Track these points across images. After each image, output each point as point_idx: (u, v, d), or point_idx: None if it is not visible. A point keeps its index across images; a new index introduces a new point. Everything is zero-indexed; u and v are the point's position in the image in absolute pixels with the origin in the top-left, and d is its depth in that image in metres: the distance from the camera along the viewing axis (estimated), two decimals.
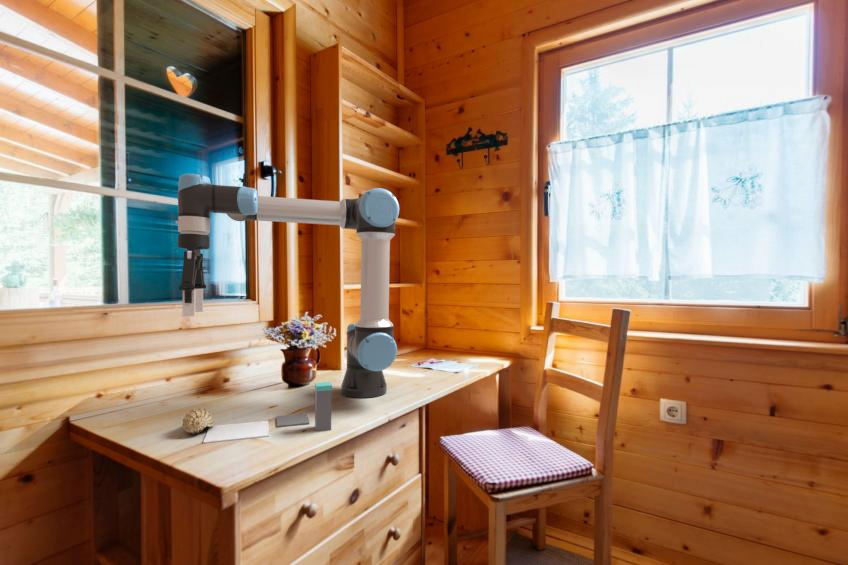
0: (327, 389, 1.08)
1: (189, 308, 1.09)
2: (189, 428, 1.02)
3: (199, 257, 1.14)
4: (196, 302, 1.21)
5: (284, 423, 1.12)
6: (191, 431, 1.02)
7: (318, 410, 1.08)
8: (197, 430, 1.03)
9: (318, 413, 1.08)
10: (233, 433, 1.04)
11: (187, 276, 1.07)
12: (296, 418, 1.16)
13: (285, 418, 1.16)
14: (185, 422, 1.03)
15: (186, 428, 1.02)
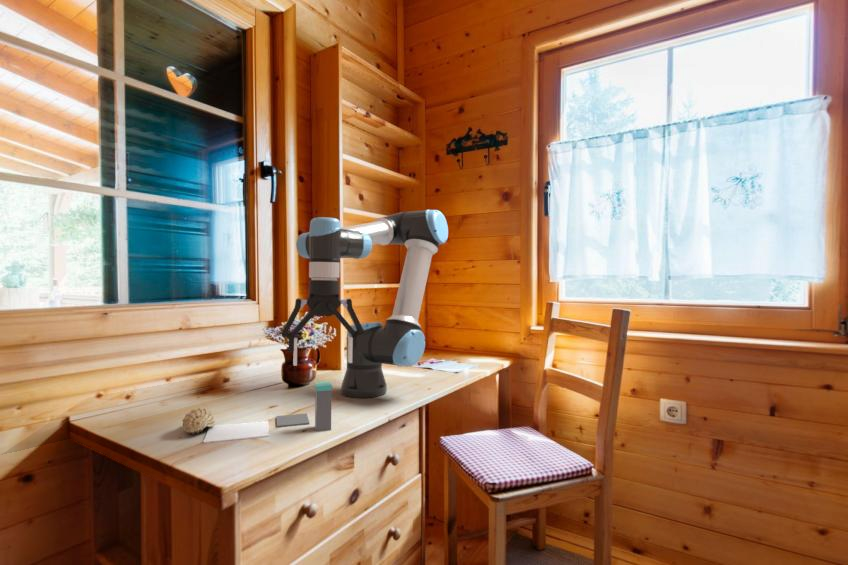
0: (327, 389, 1.08)
1: (293, 357, 1.07)
2: (189, 428, 1.02)
3: (316, 304, 1.07)
4: (348, 351, 1.12)
5: (284, 423, 1.12)
6: (191, 431, 1.02)
7: (318, 410, 1.08)
8: (197, 430, 1.03)
9: (318, 413, 1.08)
10: (233, 433, 1.04)
11: (285, 324, 1.06)
12: (296, 418, 1.16)
13: (285, 418, 1.16)
14: (185, 422, 1.03)
15: (186, 428, 1.02)
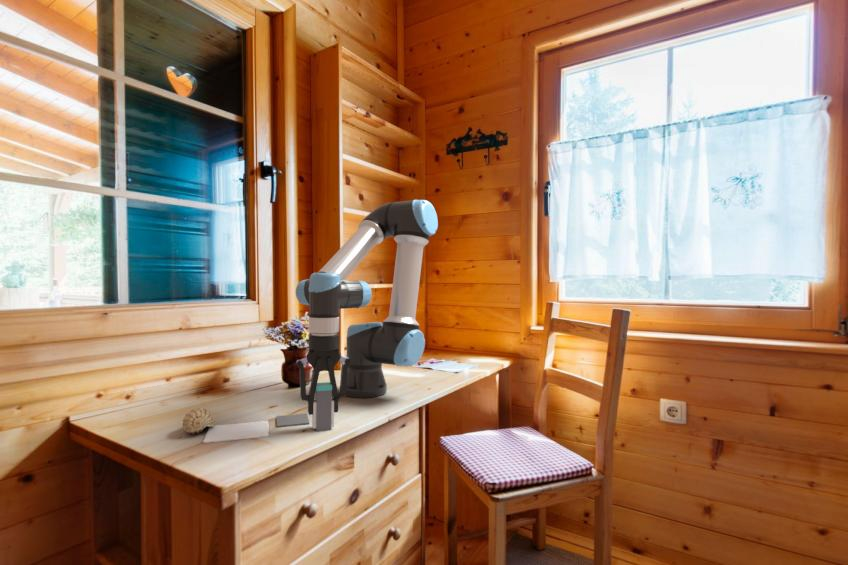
0: (327, 389, 1.08)
1: None
2: (189, 428, 1.02)
3: (316, 361, 1.07)
4: None
5: (284, 423, 1.12)
6: (191, 431, 1.02)
7: (318, 410, 1.08)
8: (197, 430, 1.03)
9: (318, 413, 1.08)
10: (233, 433, 1.04)
11: (300, 388, 1.08)
12: (296, 418, 1.16)
13: (285, 418, 1.16)
14: (185, 422, 1.03)
15: (186, 428, 1.02)
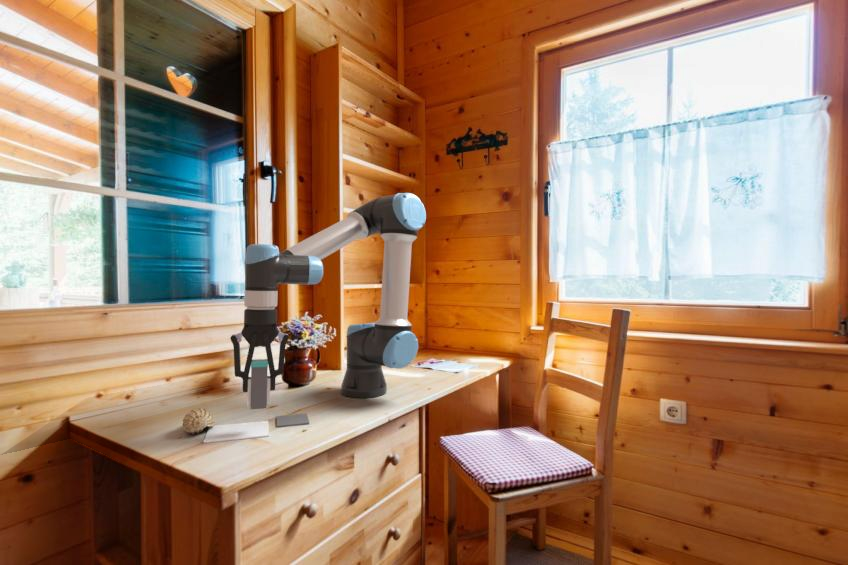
0: (263, 366, 1.04)
1: None
2: (189, 428, 1.02)
3: (251, 336, 1.03)
4: None
5: (284, 423, 1.12)
6: (191, 431, 1.02)
7: (252, 387, 1.03)
8: (197, 430, 1.03)
9: (252, 390, 1.03)
10: (233, 433, 1.04)
11: None
12: (296, 418, 1.16)
13: (285, 418, 1.16)
14: (185, 422, 1.03)
15: (186, 428, 1.02)
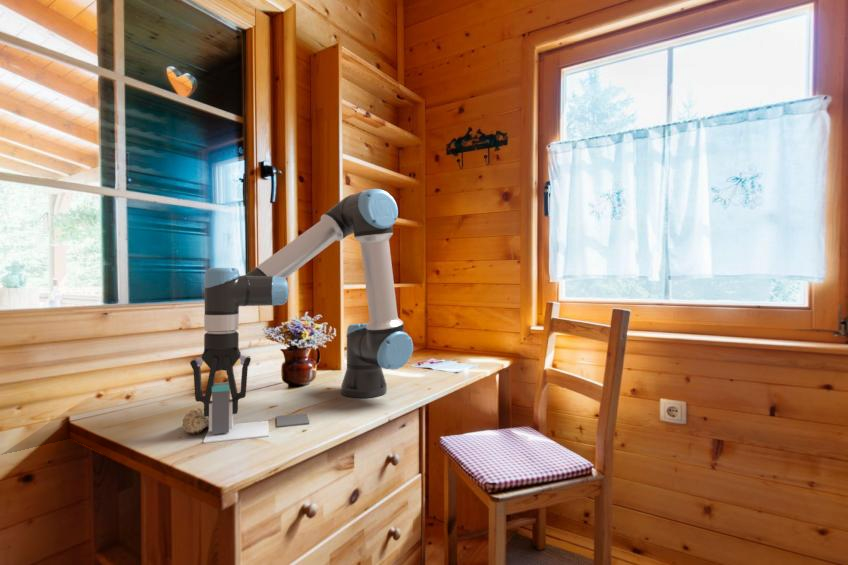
0: (224, 390, 1.03)
1: None
2: (189, 428, 1.02)
3: (211, 360, 1.02)
4: None
5: (284, 423, 1.12)
6: (191, 431, 1.02)
7: (214, 412, 1.03)
8: (197, 430, 1.03)
9: (214, 415, 1.03)
10: (233, 433, 1.04)
11: None
12: (296, 418, 1.16)
13: (285, 418, 1.16)
14: (185, 422, 1.03)
15: (186, 428, 1.02)
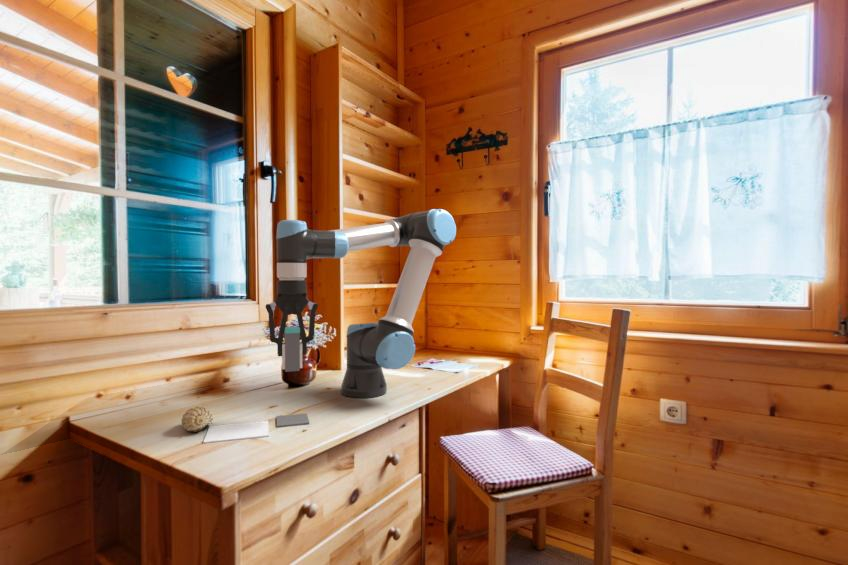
0: (295, 332, 1.13)
1: (282, 361, 1.14)
2: (192, 426, 1.03)
3: (284, 304, 1.12)
4: None
5: (284, 423, 1.12)
6: (194, 429, 1.04)
7: (287, 351, 1.12)
8: (200, 427, 1.04)
9: (287, 354, 1.12)
10: (233, 433, 1.04)
11: None
12: (296, 418, 1.16)
13: (285, 418, 1.16)
14: (187, 420, 1.04)
15: (188, 426, 1.03)
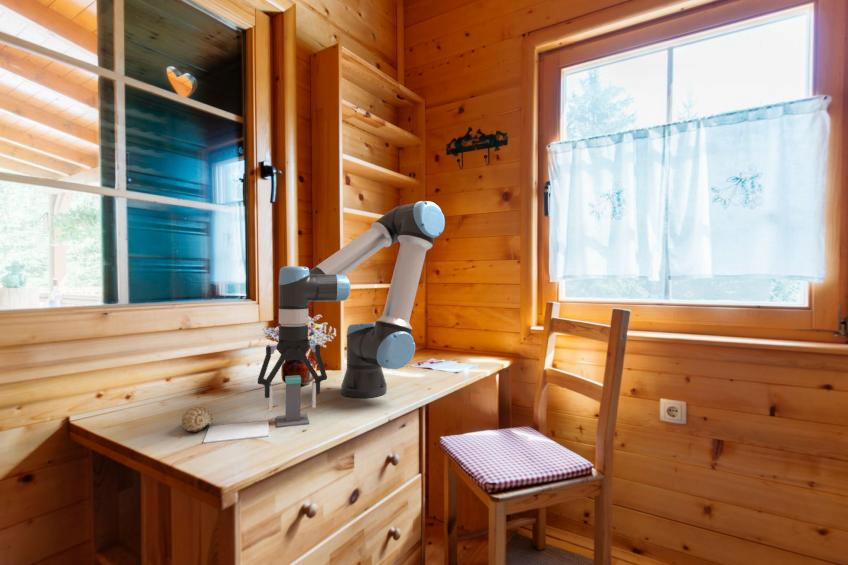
0: (296, 382, 1.13)
1: None
2: (192, 426, 1.03)
3: (285, 349, 1.13)
4: (312, 396, 1.17)
5: (284, 423, 1.12)
6: (194, 429, 1.04)
7: (287, 402, 1.13)
8: (200, 427, 1.04)
9: (287, 405, 1.13)
10: (233, 433, 1.04)
11: (260, 372, 1.12)
12: None
13: None
14: (187, 420, 1.04)
15: (188, 426, 1.03)
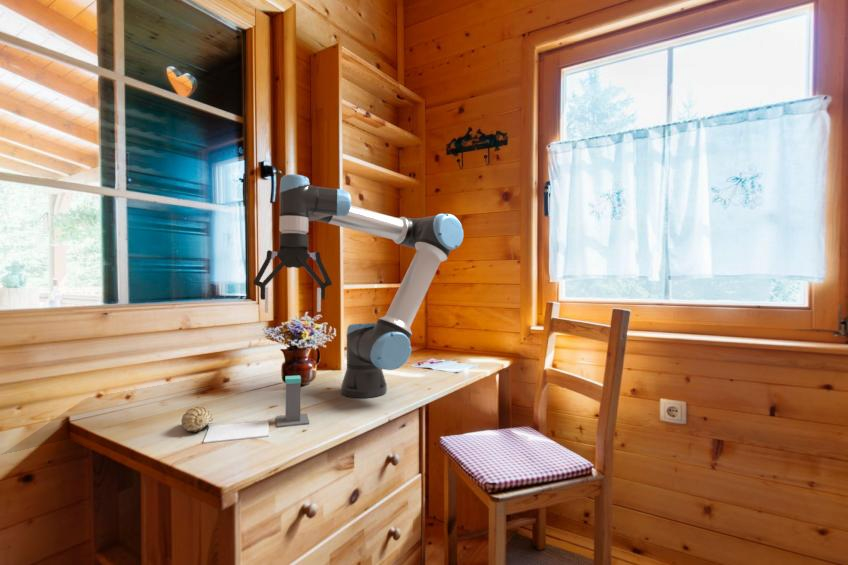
0: (296, 382, 1.13)
1: (265, 304, 1.15)
2: (192, 426, 1.03)
3: (286, 256, 1.15)
4: (317, 301, 1.20)
5: (284, 423, 1.12)
6: (194, 429, 1.04)
7: (287, 402, 1.13)
8: (200, 427, 1.04)
9: (287, 405, 1.13)
10: (233, 433, 1.04)
11: None
12: None
13: None
14: (187, 420, 1.04)
15: (188, 426, 1.03)
